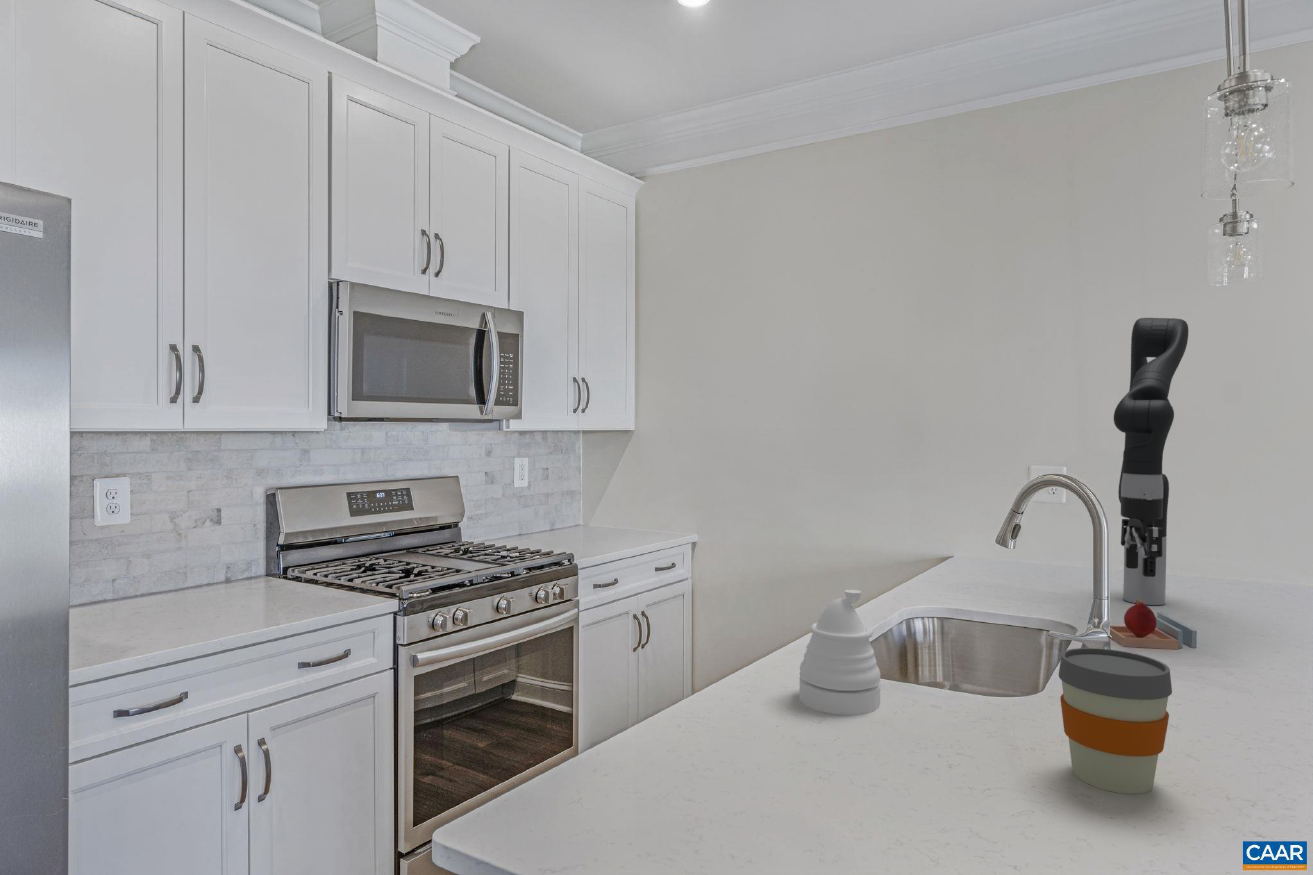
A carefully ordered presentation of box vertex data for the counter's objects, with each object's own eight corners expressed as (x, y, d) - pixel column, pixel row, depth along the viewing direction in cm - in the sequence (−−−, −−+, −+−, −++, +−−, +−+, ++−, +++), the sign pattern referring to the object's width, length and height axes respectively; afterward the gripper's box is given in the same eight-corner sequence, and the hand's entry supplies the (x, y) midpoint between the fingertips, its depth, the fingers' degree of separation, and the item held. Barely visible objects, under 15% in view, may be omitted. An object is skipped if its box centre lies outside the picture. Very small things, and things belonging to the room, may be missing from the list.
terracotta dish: (1104, 633, 171) (1104, 625, 171) (1155, 636, 169) (1155, 627, 169) (1123, 646, 161) (1123, 637, 161) (1178, 649, 159) (1178, 640, 159)
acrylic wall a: (1156, 627, 176) (1157, 612, 176) (1160, 627, 176) (1161, 612, 176) (1192, 647, 161) (1192, 630, 161) (1196, 647, 160) (1196, 630, 160)
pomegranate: (1147, 634, 168) (1148, 597, 168) (1161, 642, 162) (1162, 603, 162) (1118, 633, 168) (1119, 596, 168) (1132, 641, 163) (1132, 602, 162)
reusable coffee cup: (1042, 776, 101) (1044, 660, 101) (1075, 748, 110) (1077, 642, 109) (1155, 811, 92) (1157, 684, 92) (1181, 778, 101) (1183, 661, 100)
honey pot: (880, 691, 133) (881, 585, 132) (880, 718, 120) (881, 601, 120) (802, 684, 136) (804, 580, 136) (795, 710, 124) (796, 596, 123)
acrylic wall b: (1144, 628, 176) (1144, 612, 176) (1148, 628, 176) (1148, 612, 176) (1178, 648, 160) (1178, 630, 160) (1182, 648, 160) (1182, 631, 160)
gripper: (1109, 491, 172) (1107, 565, 173) (1136, 498, 158) (1134, 578, 159) (1146, 492, 171) (1145, 566, 171) (1177, 499, 157) (1175, 580, 157)
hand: (1140, 572), depth 165 cm, fingers open, 8 cm apart
